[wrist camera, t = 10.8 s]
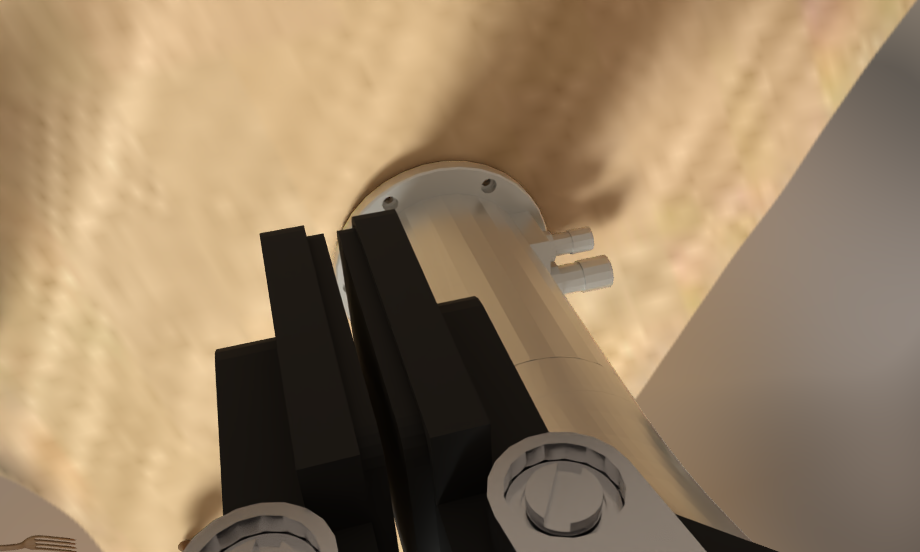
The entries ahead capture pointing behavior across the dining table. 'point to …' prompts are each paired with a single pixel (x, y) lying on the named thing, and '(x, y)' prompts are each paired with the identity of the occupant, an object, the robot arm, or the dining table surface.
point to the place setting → (31, 545)
